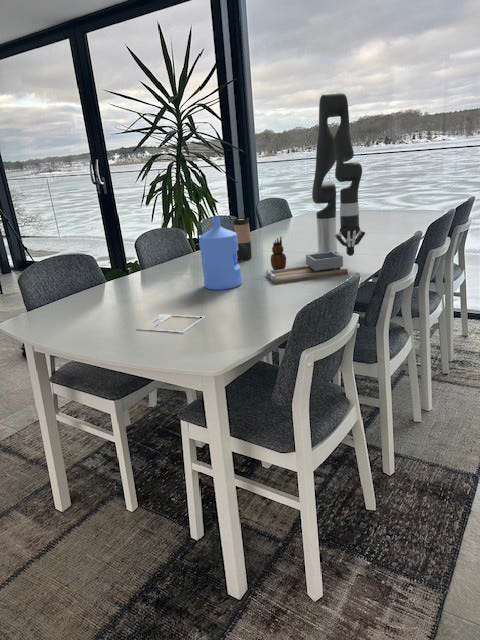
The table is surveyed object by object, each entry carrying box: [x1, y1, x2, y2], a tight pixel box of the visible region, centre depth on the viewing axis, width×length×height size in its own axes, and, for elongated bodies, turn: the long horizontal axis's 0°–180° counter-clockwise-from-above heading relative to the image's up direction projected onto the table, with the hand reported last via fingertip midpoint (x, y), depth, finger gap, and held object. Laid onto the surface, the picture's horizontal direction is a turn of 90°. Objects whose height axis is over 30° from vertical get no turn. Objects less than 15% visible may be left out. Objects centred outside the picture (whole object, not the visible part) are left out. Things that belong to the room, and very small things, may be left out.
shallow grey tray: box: [305, 251, 344, 273], centre depth 209 cm, size 12×12×6 cm
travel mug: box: [233, 217, 252, 261], centre depth 248 cm, size 8×8×20 cm
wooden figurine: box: [270, 236, 287, 270], centre depth 220 cm, size 7×6×15 cm
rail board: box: [266, 265, 349, 285], centre depth 209 cm, size 14×31×3 cm, turn 100°
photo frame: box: [147, 313, 206, 334], centre depth 167 cm, size 15×1×18 cm
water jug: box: [198, 216, 243, 291], centre depth 203 cm, size 16×16×28 cm
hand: (350, 255), depth 210 cm, fingers closed
